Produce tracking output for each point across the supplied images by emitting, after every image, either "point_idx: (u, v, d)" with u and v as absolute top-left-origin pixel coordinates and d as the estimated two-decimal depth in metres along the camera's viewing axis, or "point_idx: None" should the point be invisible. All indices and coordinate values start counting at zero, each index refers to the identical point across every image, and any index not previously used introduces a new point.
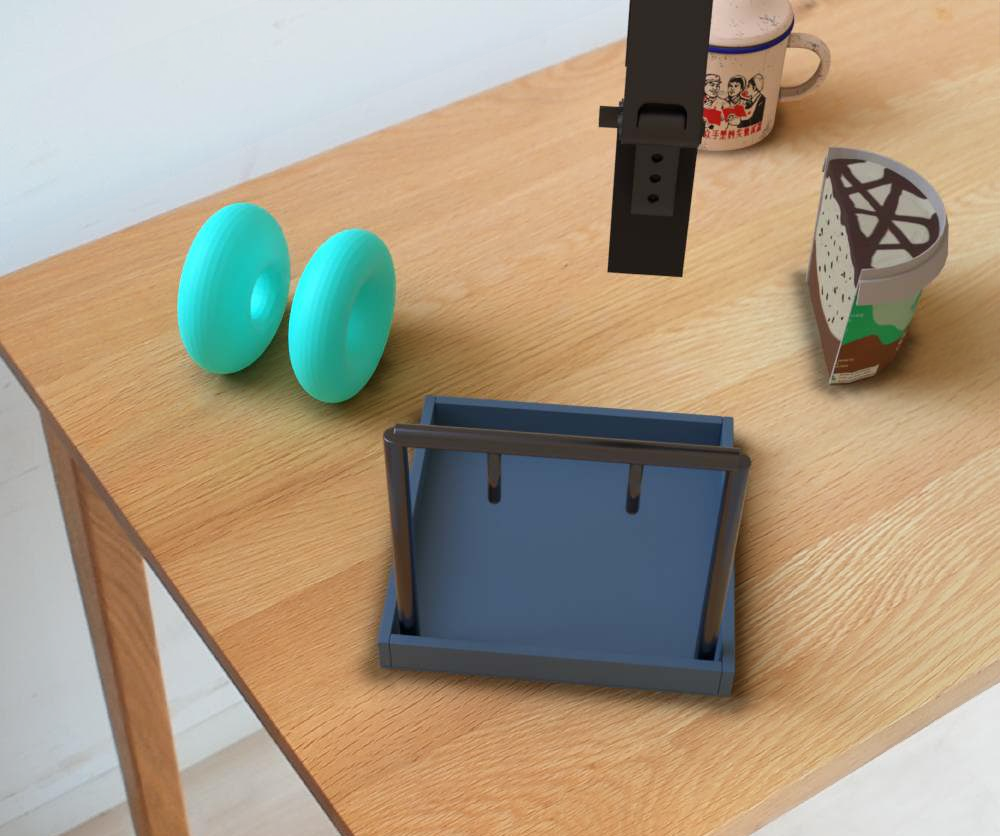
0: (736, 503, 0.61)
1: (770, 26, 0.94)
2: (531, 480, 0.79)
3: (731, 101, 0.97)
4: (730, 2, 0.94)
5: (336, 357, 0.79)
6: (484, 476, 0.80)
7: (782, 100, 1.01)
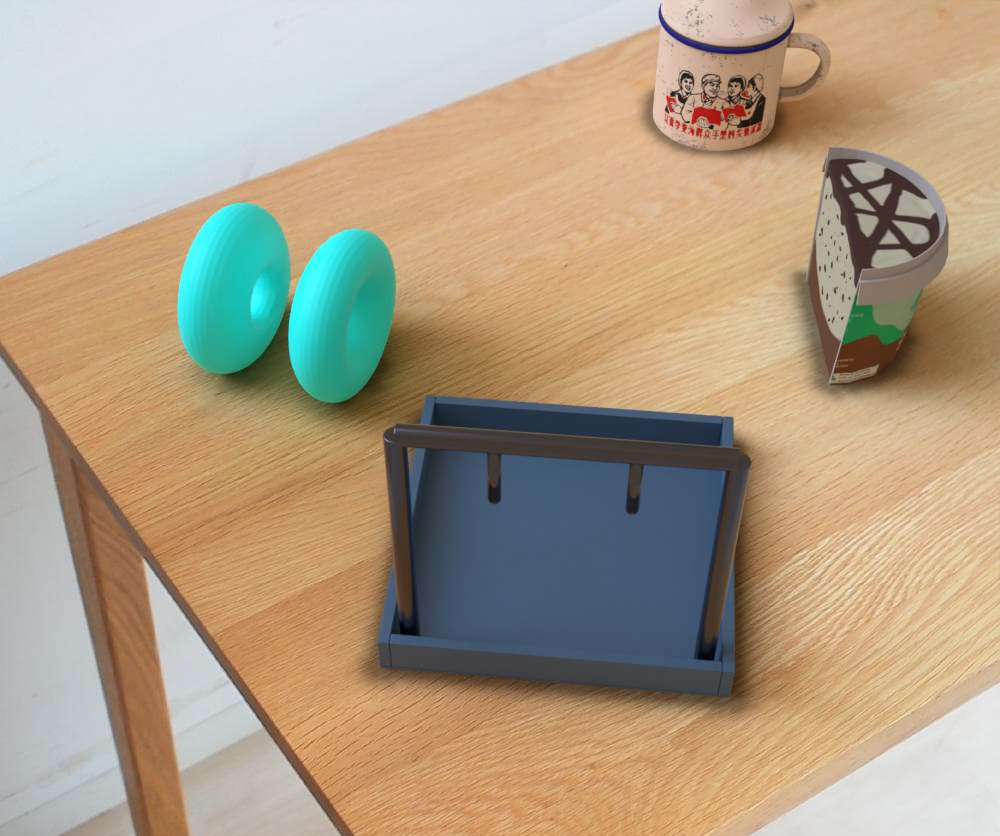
0: (736, 503, 0.61)
1: (770, 26, 0.94)
2: (531, 480, 0.79)
3: (731, 101, 0.97)
4: (730, 2, 0.94)
5: (336, 357, 0.79)
6: (484, 476, 0.80)
7: (782, 100, 1.01)
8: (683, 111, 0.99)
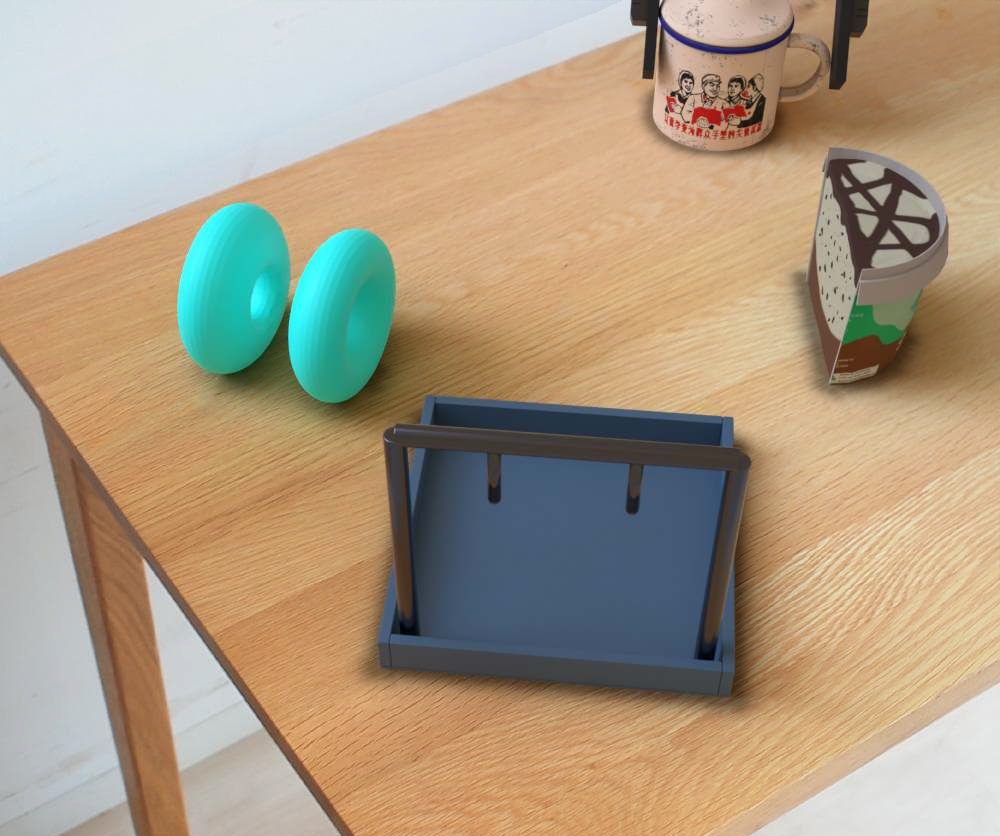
0: (736, 503, 0.61)
1: (770, 26, 0.94)
2: (531, 480, 0.79)
3: (732, 101, 0.97)
4: (730, 2, 0.94)
5: (336, 357, 0.79)
6: (484, 476, 0.80)
7: (782, 100, 1.01)
8: (683, 111, 0.99)
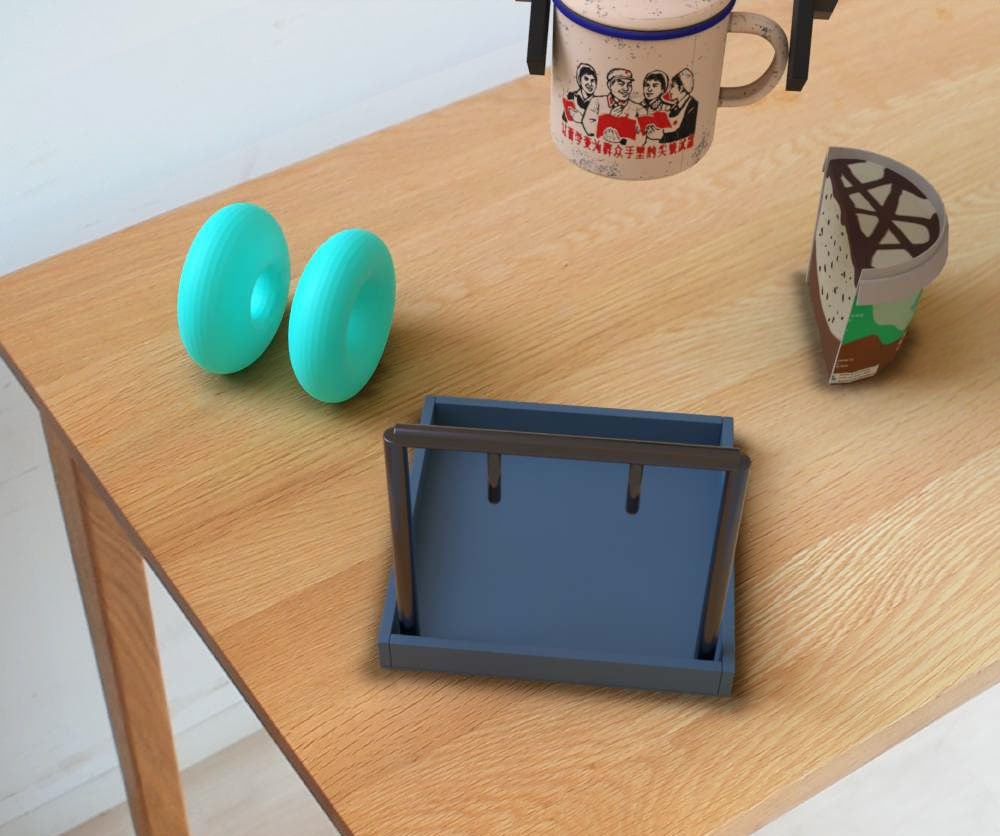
0: (736, 503, 0.61)
1: (701, 2, 0.67)
2: (531, 480, 0.79)
3: (649, 106, 0.70)
4: None
5: (336, 357, 0.79)
6: (484, 476, 0.80)
7: (723, 105, 0.74)
8: (585, 119, 0.72)
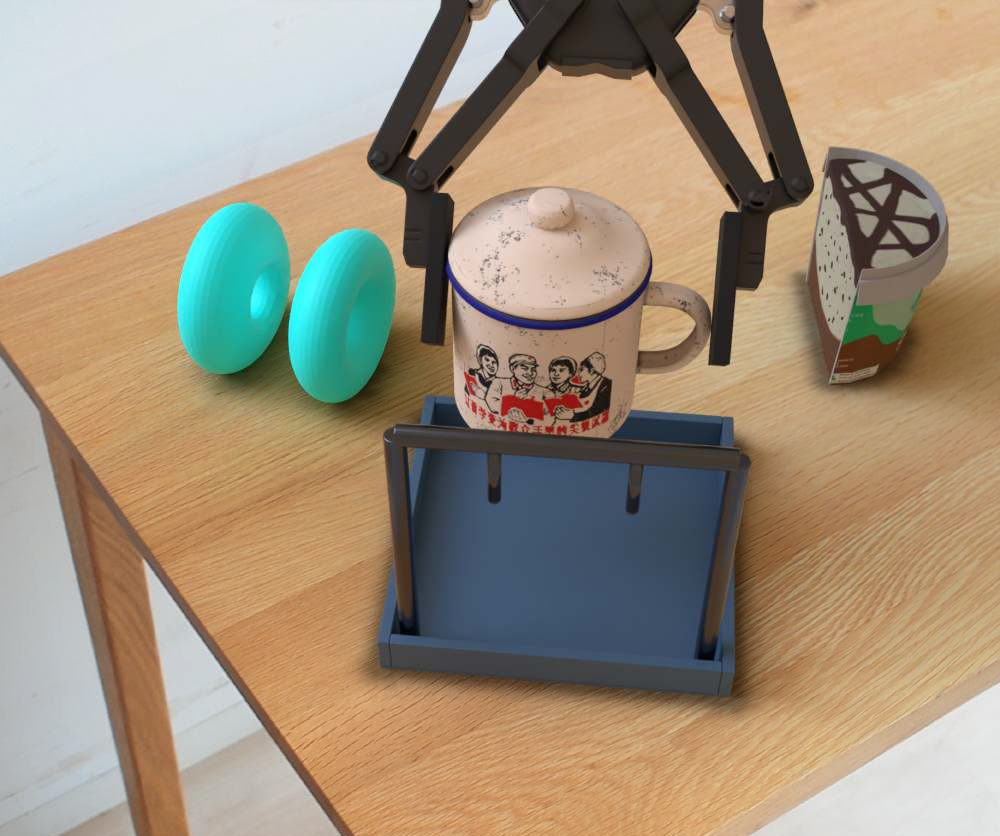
0: (736, 503, 0.61)
1: (610, 286, 0.61)
2: (531, 480, 0.79)
3: (557, 389, 0.63)
4: (548, 249, 0.61)
5: (336, 357, 0.79)
6: (484, 476, 0.80)
7: (642, 373, 0.67)
8: (488, 396, 0.65)
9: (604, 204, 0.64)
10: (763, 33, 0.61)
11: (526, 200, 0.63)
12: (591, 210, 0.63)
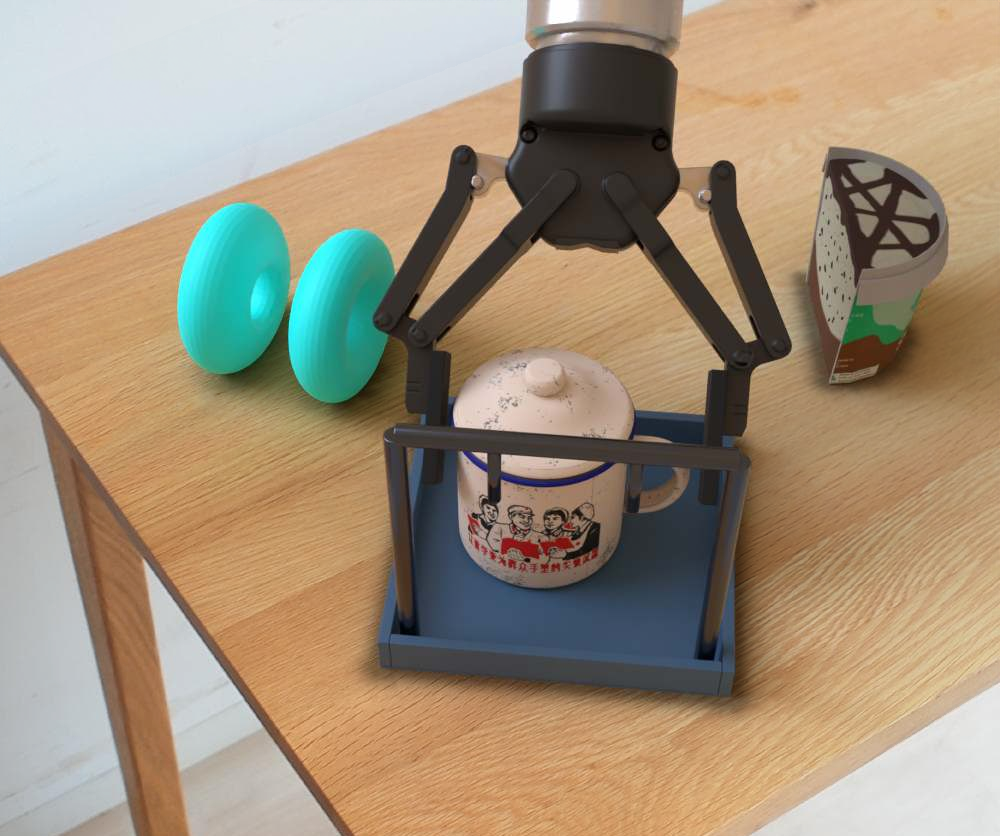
0: (736, 503, 0.61)
1: None
2: None
3: (551, 534, 0.71)
4: (542, 415, 0.68)
5: (336, 357, 0.79)
6: None
7: None
8: (489, 537, 0.73)
9: (593, 366, 0.72)
10: (738, 213, 0.69)
11: (523, 366, 0.70)
12: (581, 375, 0.70)
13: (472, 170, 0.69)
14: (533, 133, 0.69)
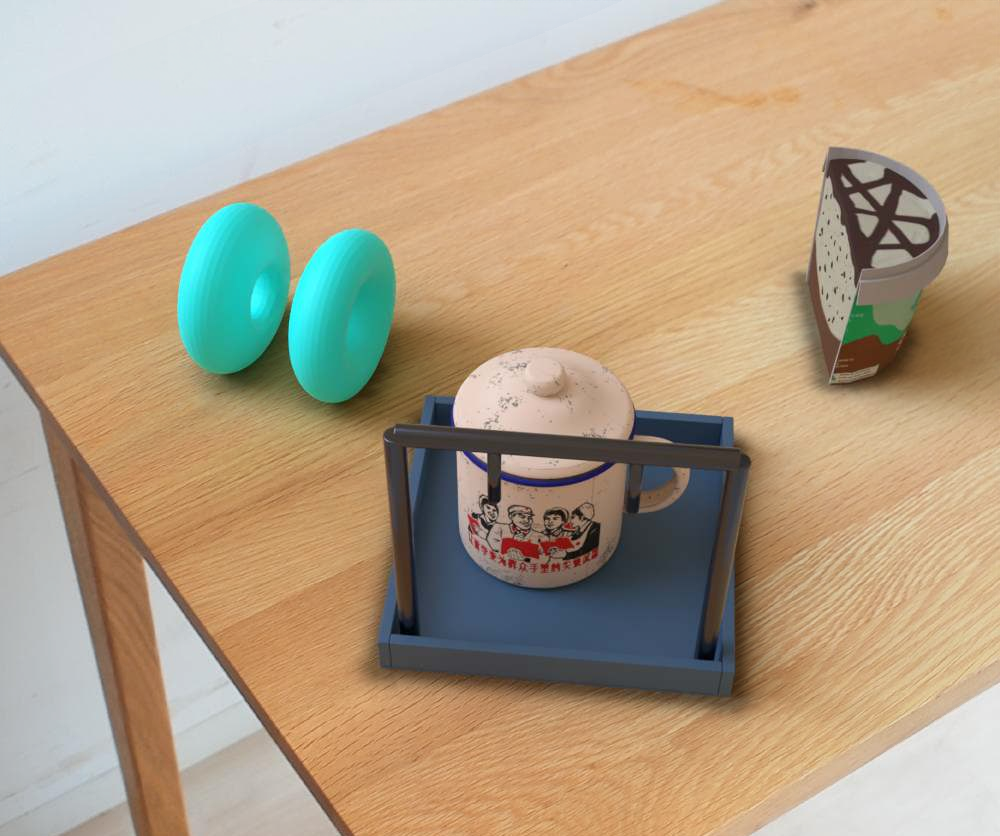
0: (736, 503, 0.61)
1: None
2: None
3: (551, 534, 0.71)
4: (542, 414, 0.68)
5: (336, 357, 0.79)
6: None
7: None
8: (489, 536, 0.73)
9: (593, 366, 0.72)
10: None
11: (523, 366, 0.70)
12: (581, 375, 0.70)
13: None
14: None
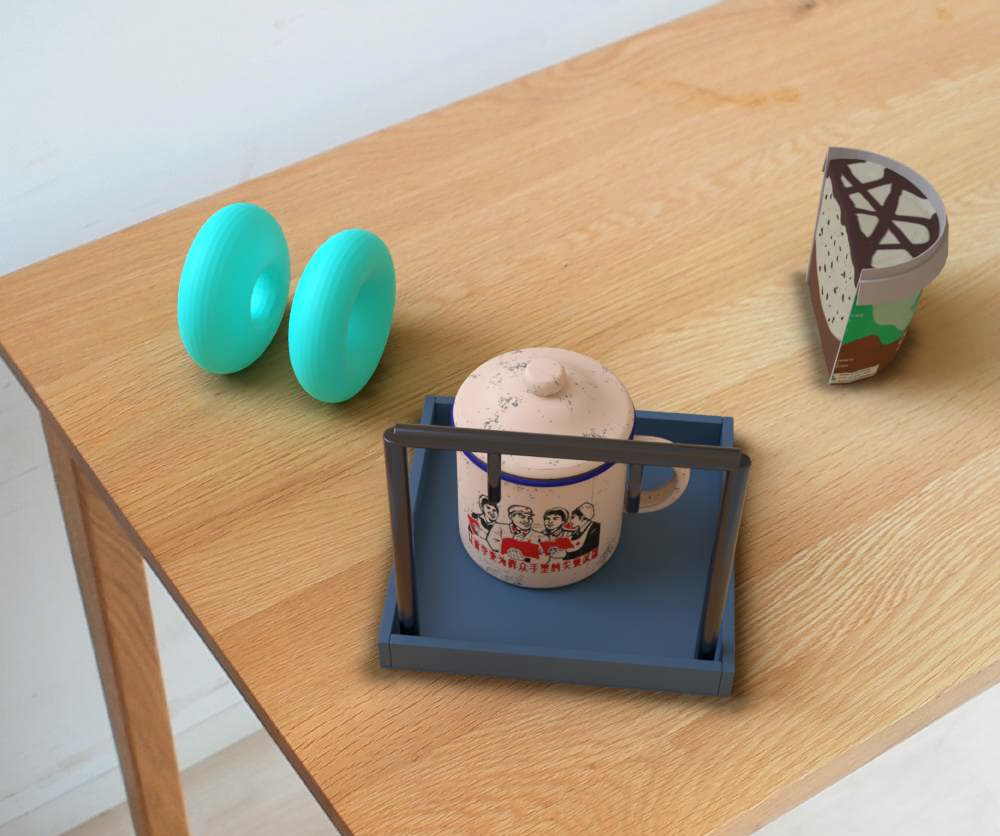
0: (736, 503, 0.61)
1: None
2: None
3: (551, 534, 0.71)
4: (542, 414, 0.68)
5: (336, 357, 0.79)
6: None
7: None
8: (489, 536, 0.73)
9: (593, 366, 0.72)
10: None
11: (523, 366, 0.70)
12: (581, 375, 0.70)
13: None
14: None
